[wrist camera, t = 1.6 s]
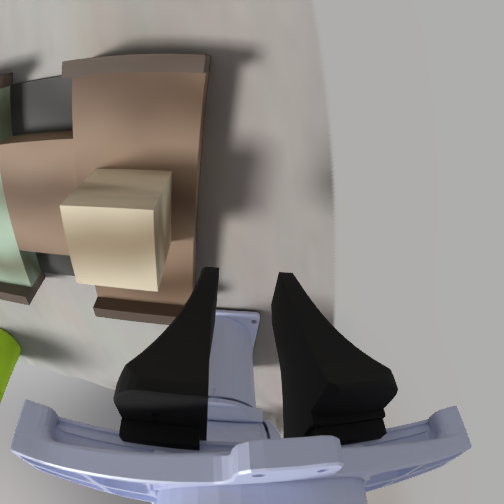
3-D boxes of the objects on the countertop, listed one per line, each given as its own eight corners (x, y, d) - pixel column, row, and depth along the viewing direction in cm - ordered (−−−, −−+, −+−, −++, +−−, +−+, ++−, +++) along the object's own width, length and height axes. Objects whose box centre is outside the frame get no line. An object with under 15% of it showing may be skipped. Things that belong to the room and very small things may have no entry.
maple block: (171, 241, 21) (157, 291, 16) (103, 236, 20) (76, 282, 16) (171, 171, 18) (153, 210, 14) (95, 168, 17) (59, 205, 13)
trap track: (194, 293, 27) (190, 333, 23) (-10, 269, 24) (-30, 297, 20) (210, 55, 16) (204, 54, 12) (-47, 91, 13) (-82, 105, 10)
